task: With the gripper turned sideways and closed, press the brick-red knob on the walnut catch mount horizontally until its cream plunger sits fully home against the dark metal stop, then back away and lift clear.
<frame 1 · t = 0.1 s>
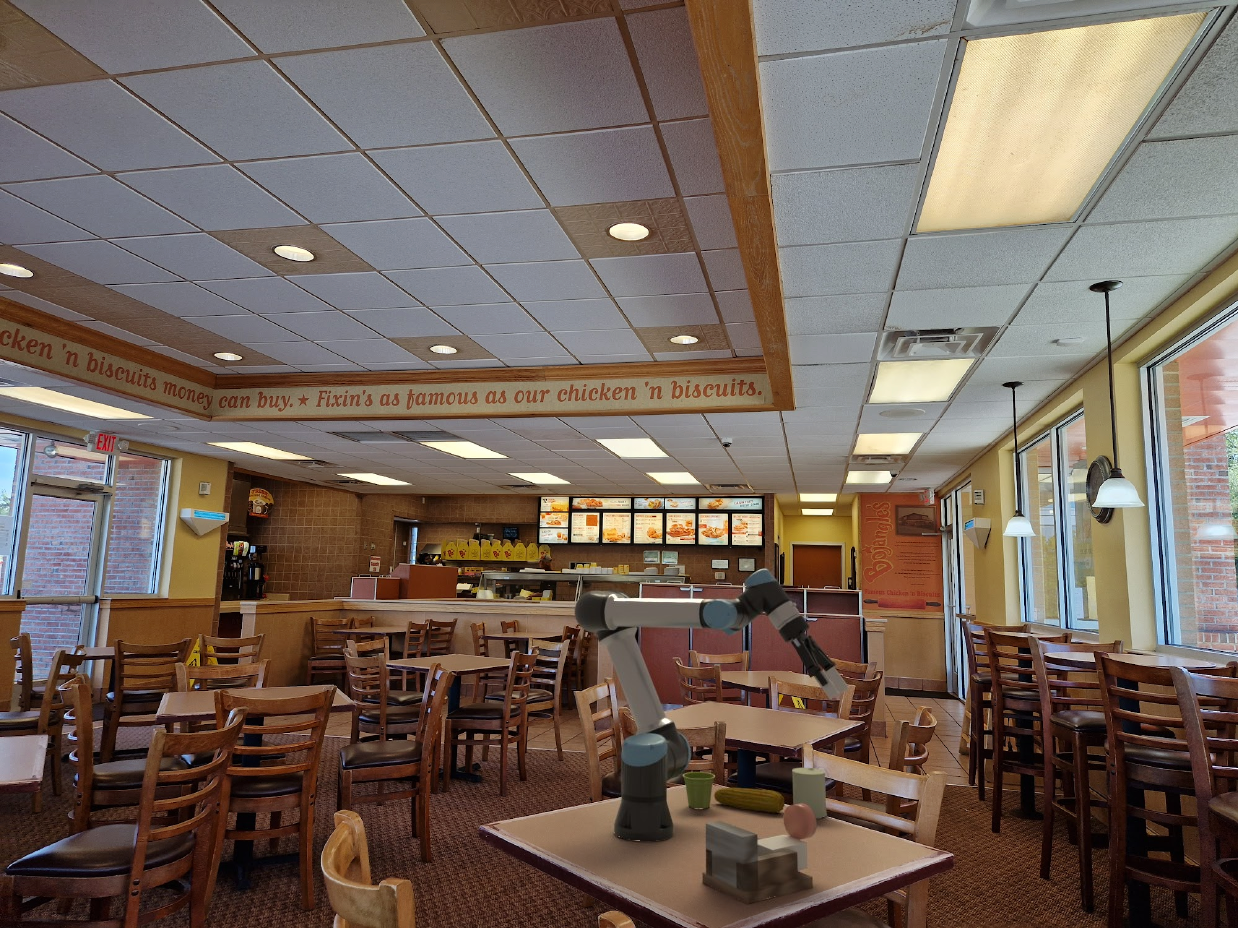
hand: (840, 693, 197), 36 cm above the table, tool tilted 35°, fingers open, 13 cm apart
plunger: (783, 836, 170), point 8 cm above the table, slide at 6.0 cm
food: (748, 810, 225), on the table
plant pot: (698, 807, 226), on the table
mount: (778, 879, 168), on the table
can: (809, 814, 220), on the table
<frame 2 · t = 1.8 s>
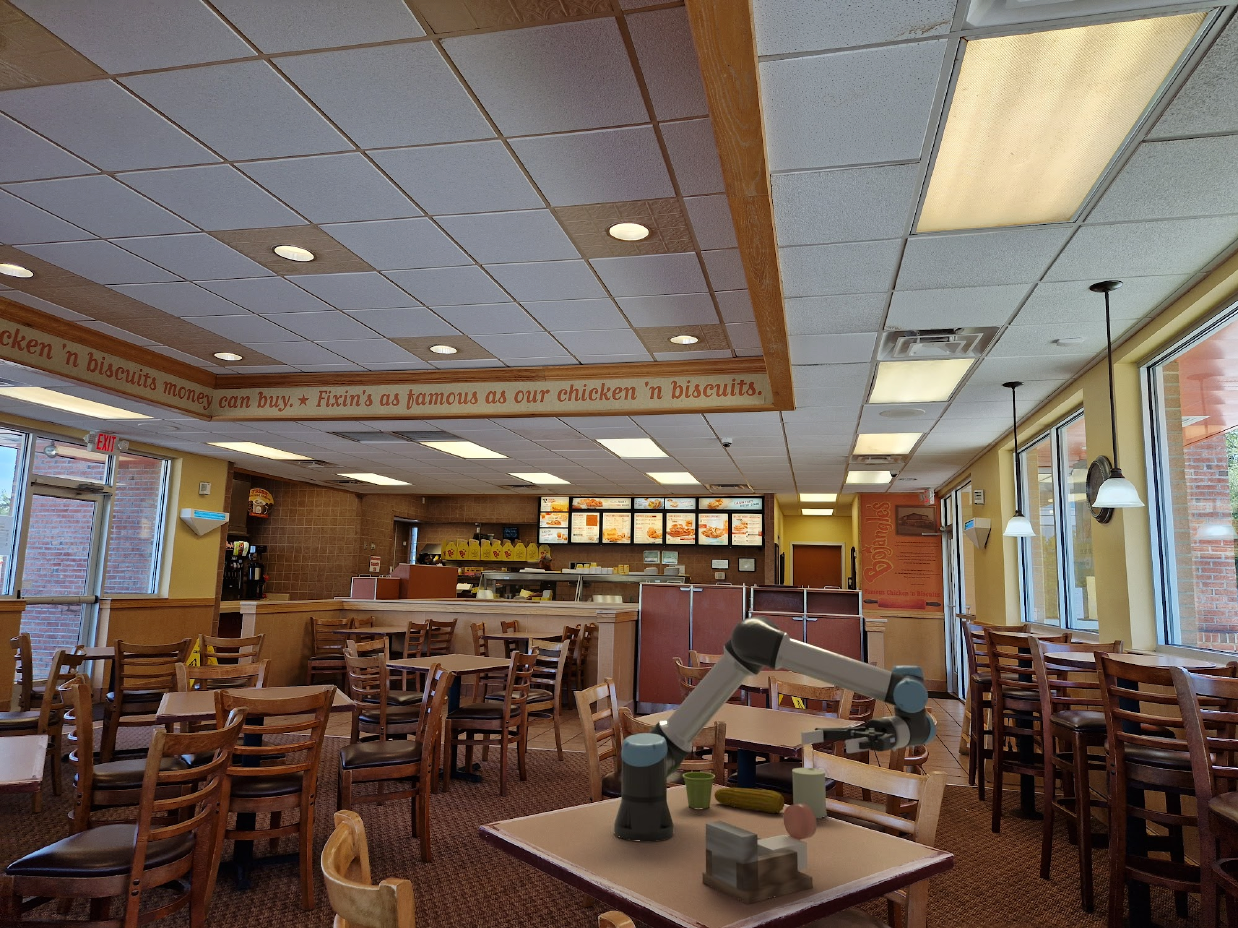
hand: (824, 742, 180), 27 cm above the table, tool horizontal, fingers open, 13 cm apart
nothing on the table moved.
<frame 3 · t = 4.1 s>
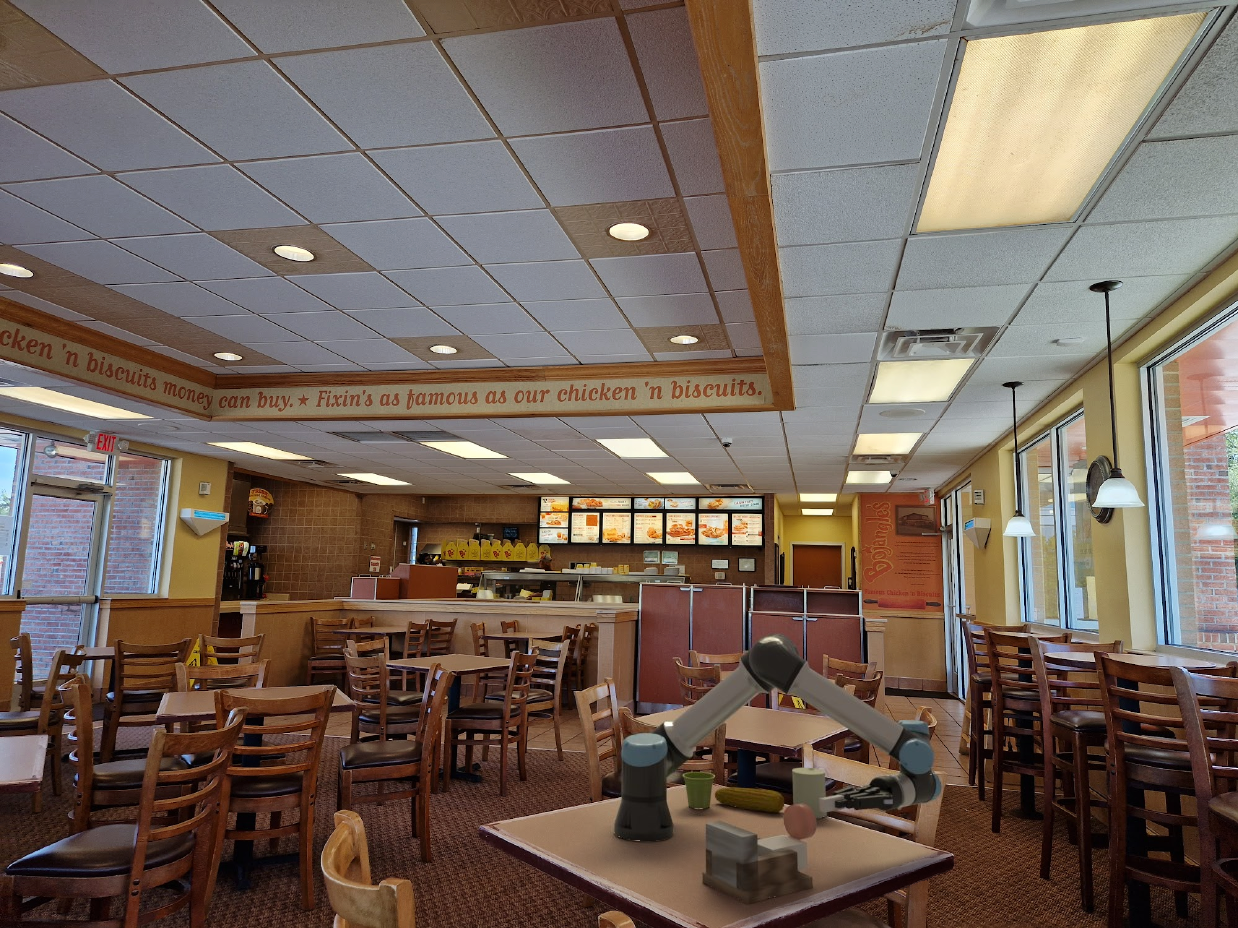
hand: (822, 805, 177), 13 cm above the table, tool horizontal, fingers closed
nothing on the table moved.
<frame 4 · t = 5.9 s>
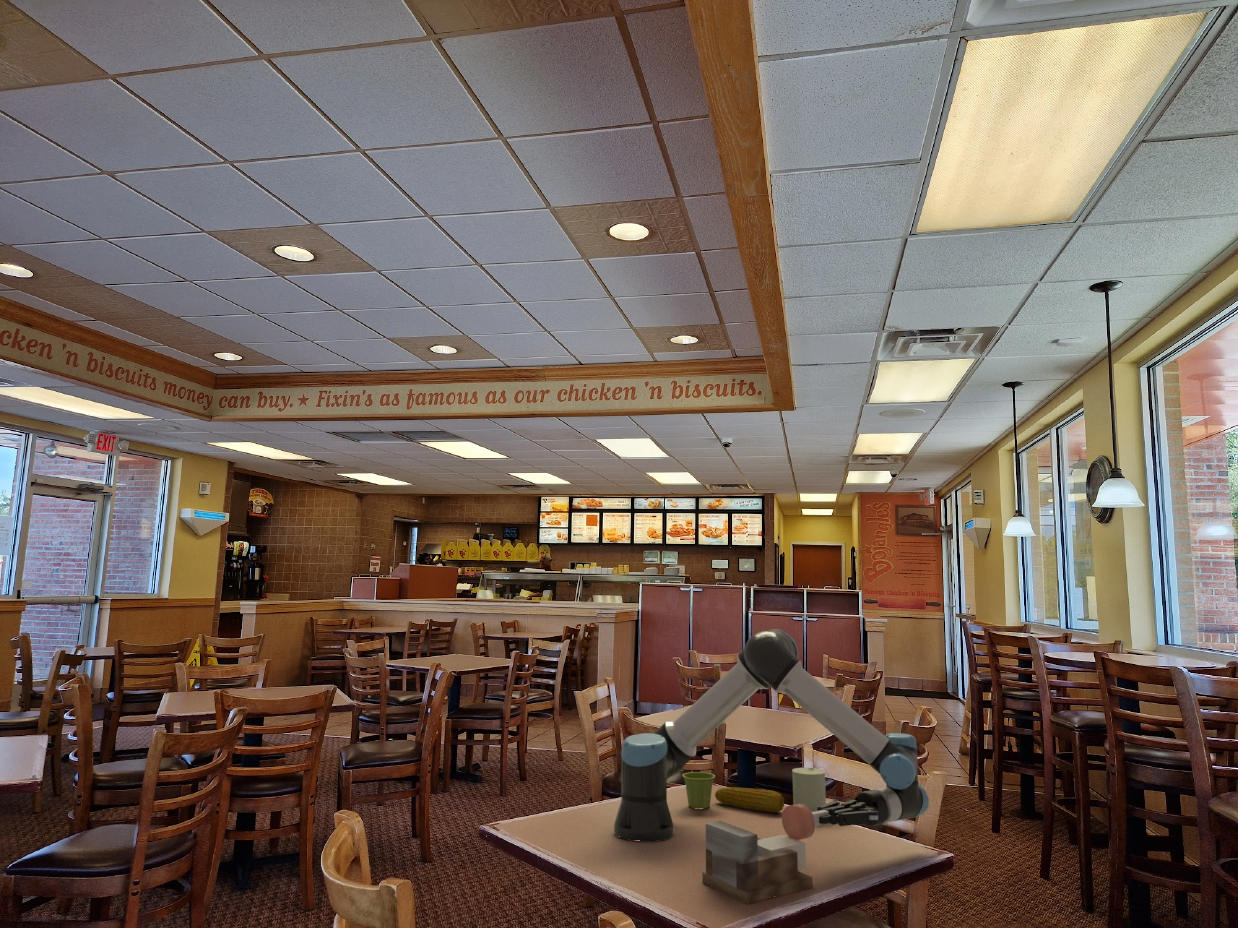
hand: (805, 820, 173), 11 cm above the table, tool horizontal, fingers closed
plunger: (781, 837, 170), point 8 cm above the table, slide at 5.5 cm, touching gripper
everything else where it was.
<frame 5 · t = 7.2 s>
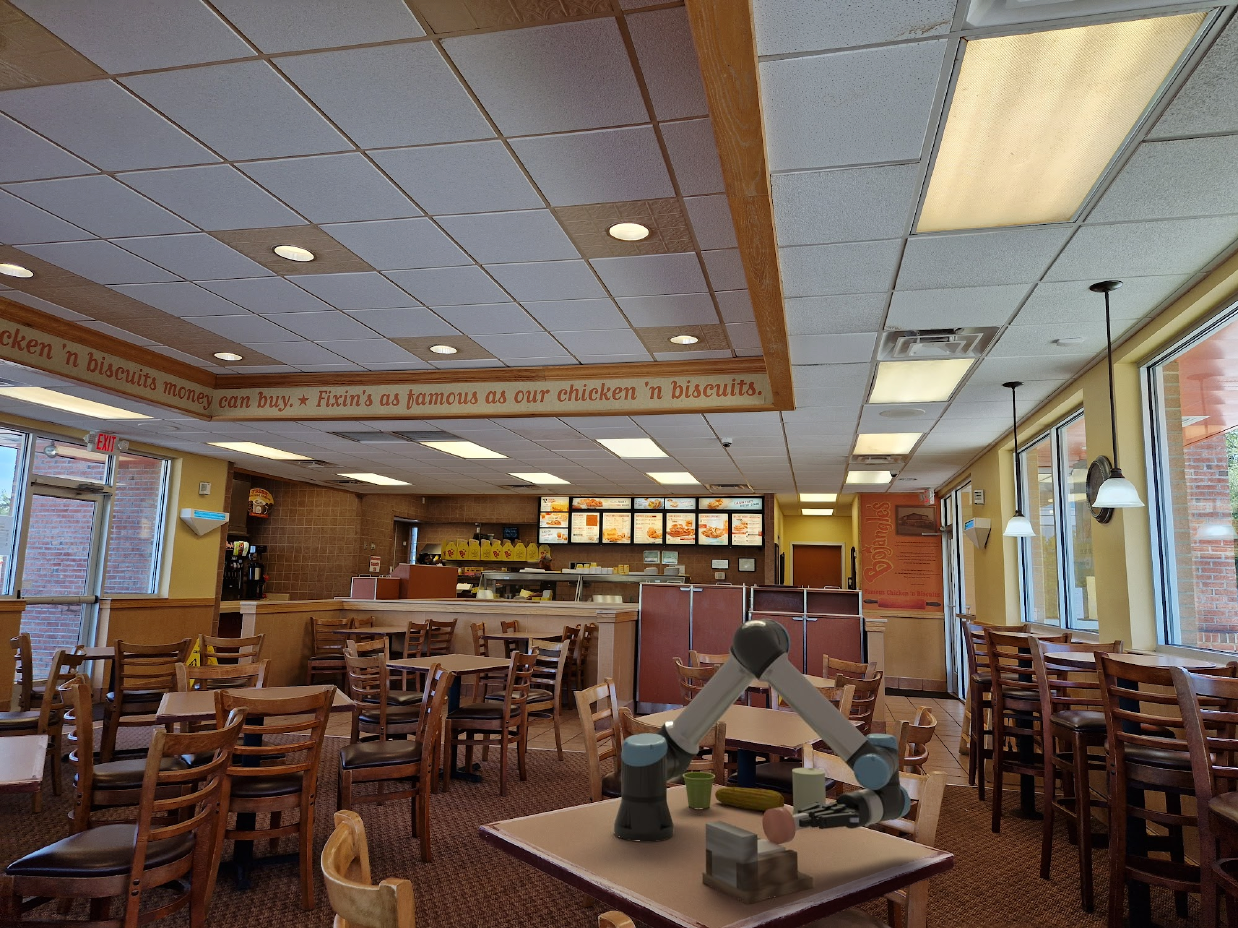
hand: (785, 824, 170), 11 cm above the table, tool horizontal, fingers closed
plunger: (761, 841, 167), point 8 cm above the table, slide at -0.3 cm, touching gripper, mount
everything else where it was.
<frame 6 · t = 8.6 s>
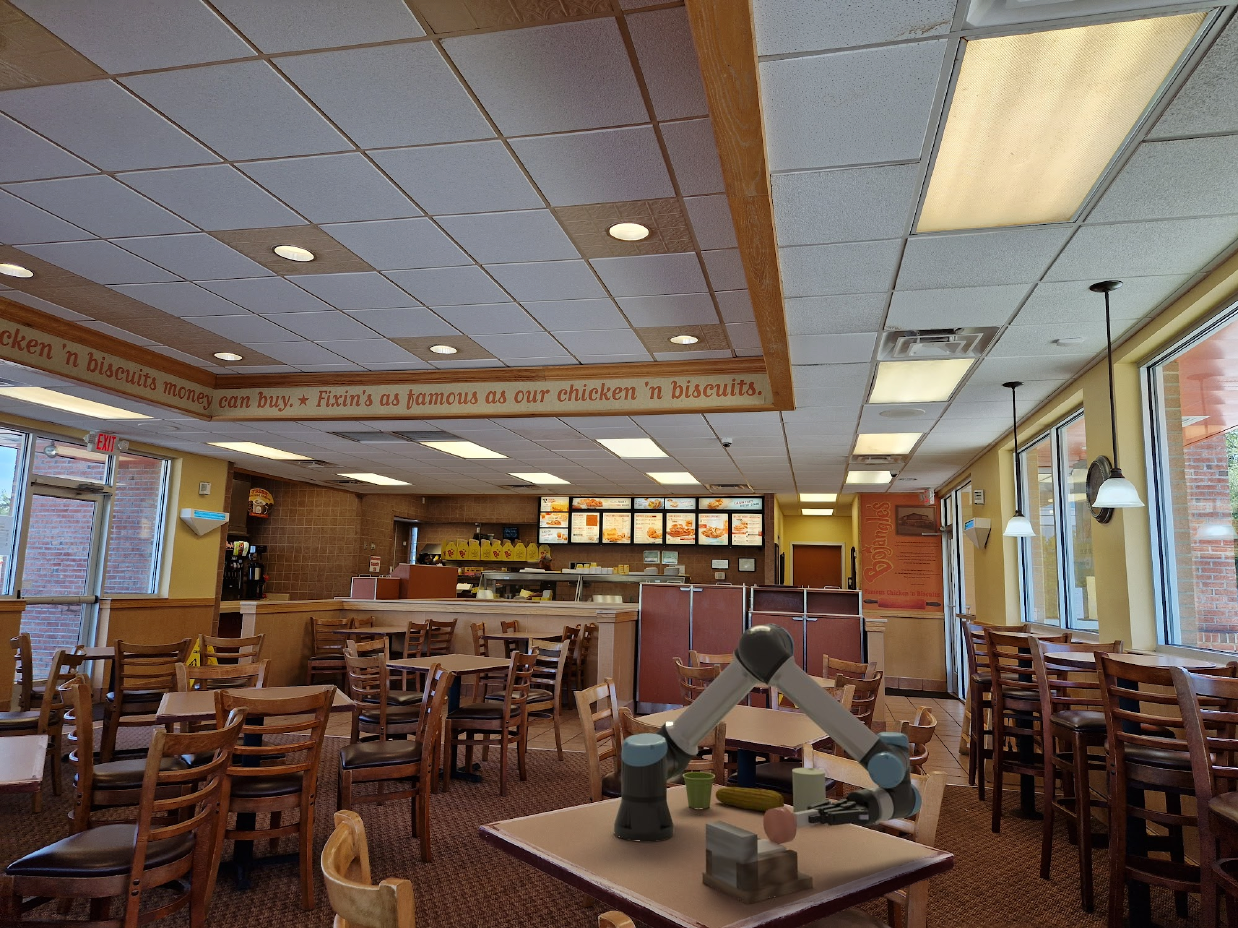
hand: (794, 820, 172), 11 cm above the table, tool horizontal, fingers closed
plunger: (762, 841, 167), point 8 cm above the table, slide at 0.0 cm
everything else where it was.
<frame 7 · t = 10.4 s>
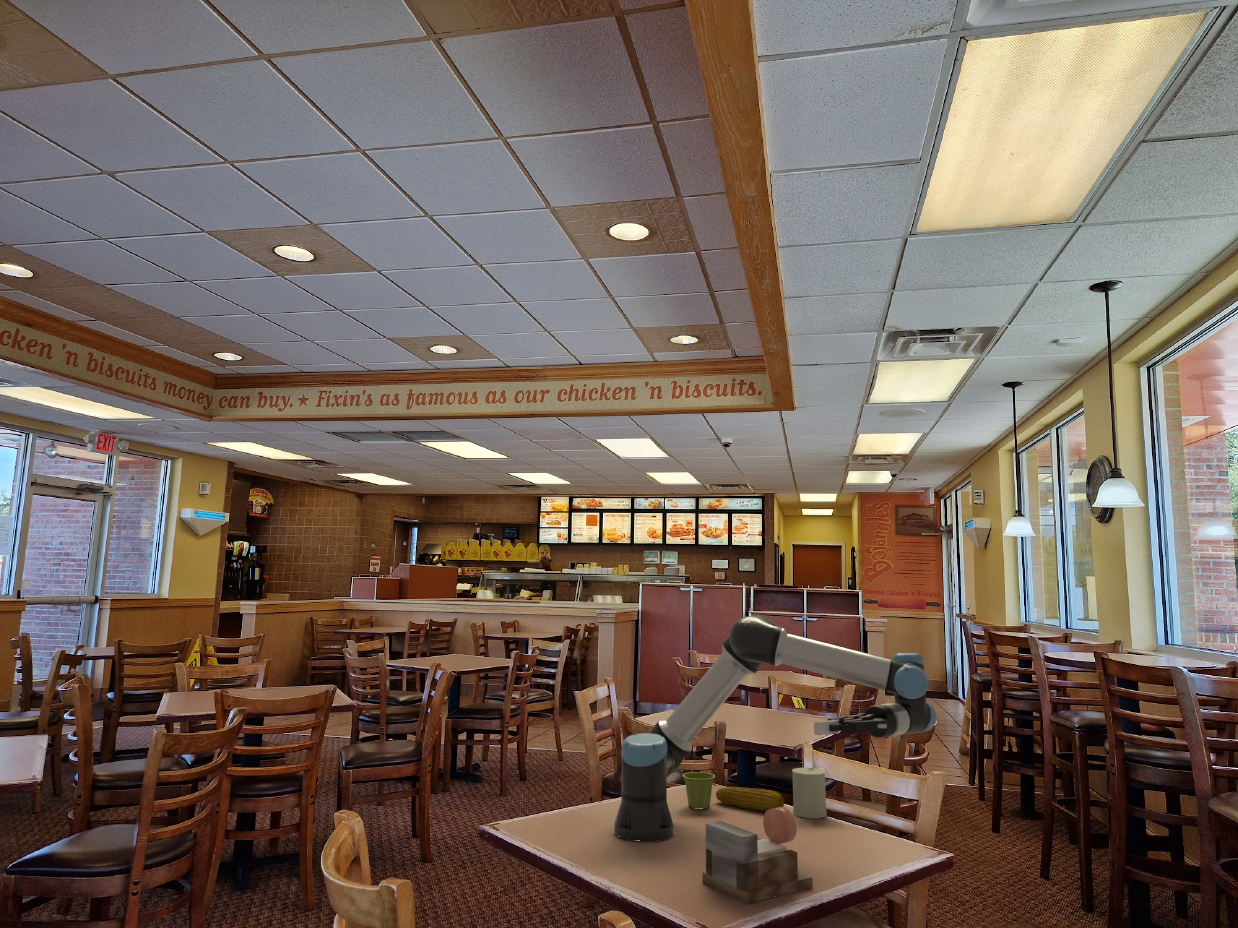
hand: (816, 728, 180), 30 cm above the table, tool horizontal, fingers closed
nothing on the table moved.
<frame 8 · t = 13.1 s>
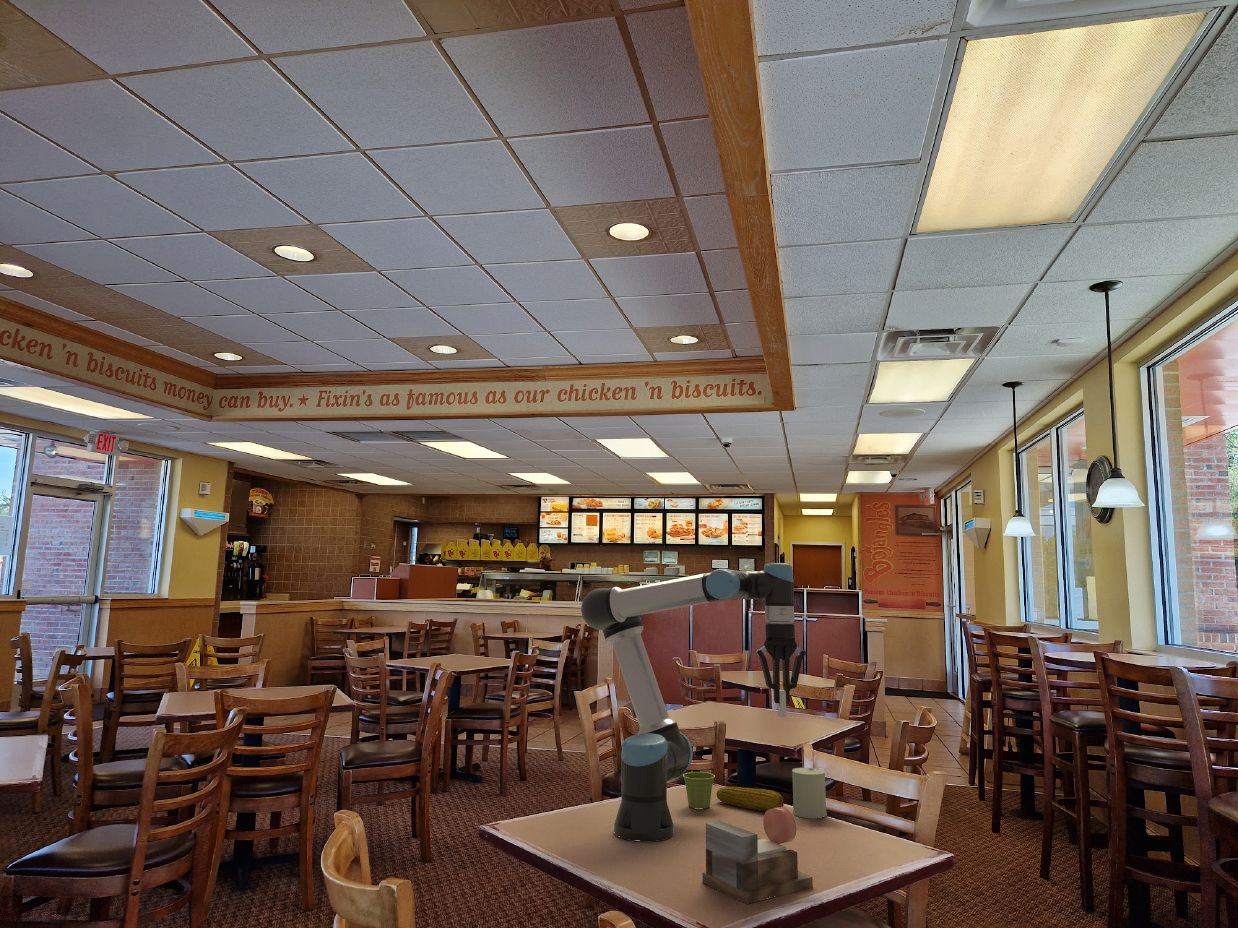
hand: (782, 716, 201), 29 cm above the table, tool pointing down, fingers closed
nothing on the table moved.
at the end: plunger slide at 0.0 cm; can moved 0.2 cm from its start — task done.
